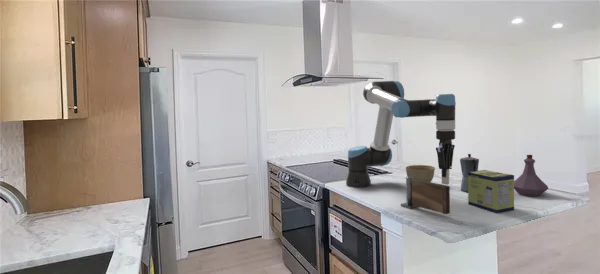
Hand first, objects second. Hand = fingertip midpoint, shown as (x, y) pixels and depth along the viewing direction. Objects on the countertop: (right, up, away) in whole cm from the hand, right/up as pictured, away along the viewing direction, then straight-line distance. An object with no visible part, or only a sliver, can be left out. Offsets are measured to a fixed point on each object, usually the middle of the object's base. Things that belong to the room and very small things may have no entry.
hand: (445, 183), depth 144 cm
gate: (-6, -11, +1) cm, 13 cm away
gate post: (-12, -12, +11) cm, 20 cm away
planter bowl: (+7, -8, +50) cm, 52 cm away
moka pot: (+28, -9, +33) cm, 45 cm away
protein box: (+22, -12, +5) cm, 26 cm away
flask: (+52, -9, +23) cm, 58 cm away
